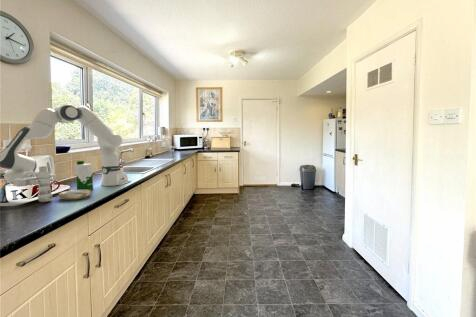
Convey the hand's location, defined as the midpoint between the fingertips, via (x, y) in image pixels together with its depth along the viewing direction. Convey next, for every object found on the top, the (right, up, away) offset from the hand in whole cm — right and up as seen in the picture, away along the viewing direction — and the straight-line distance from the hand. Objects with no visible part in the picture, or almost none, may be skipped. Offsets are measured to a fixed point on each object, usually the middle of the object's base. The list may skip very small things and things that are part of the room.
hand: (45, 180), depth 142 cm
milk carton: (+3, -9, +31) cm, 33 cm away
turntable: (+10, -10, +10) cm, 18 cm away
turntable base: (+10, -11, +10) cm, 18 cm away
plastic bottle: (-1, -12, +1) cm, 12 cm away
